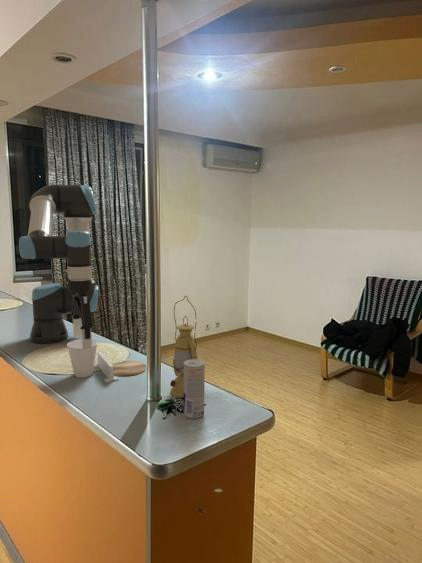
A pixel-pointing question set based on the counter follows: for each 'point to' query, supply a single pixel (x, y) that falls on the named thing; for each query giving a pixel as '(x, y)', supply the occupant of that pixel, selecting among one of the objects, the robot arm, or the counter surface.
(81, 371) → the cup
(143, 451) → the counter surface
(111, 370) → the acrylic wall
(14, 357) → the counter surface
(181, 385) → the lantern
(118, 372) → the cork coaster
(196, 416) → the beverage can
